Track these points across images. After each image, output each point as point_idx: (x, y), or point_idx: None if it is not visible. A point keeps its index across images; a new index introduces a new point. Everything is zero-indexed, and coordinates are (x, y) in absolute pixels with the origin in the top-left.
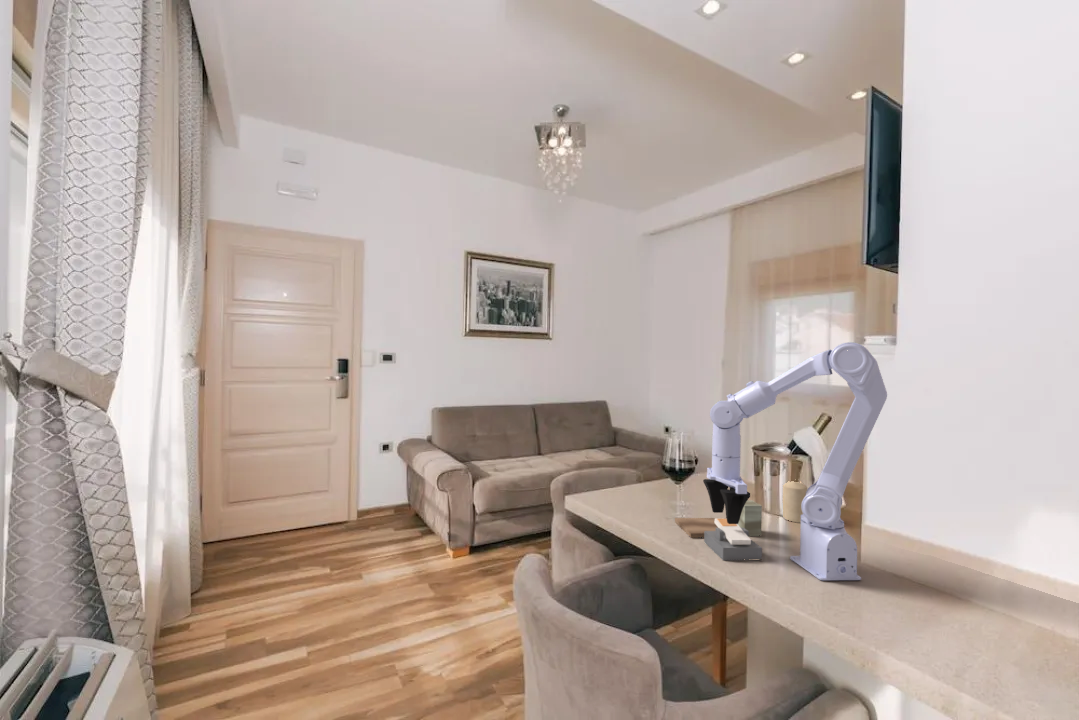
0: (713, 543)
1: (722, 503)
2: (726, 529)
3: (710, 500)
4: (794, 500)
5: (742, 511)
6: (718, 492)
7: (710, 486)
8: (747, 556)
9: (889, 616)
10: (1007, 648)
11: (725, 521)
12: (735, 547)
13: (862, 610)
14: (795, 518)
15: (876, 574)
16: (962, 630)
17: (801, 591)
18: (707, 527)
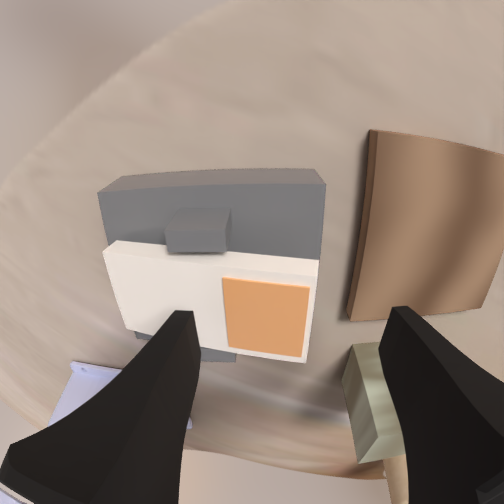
0: (205, 179)
1: (396, 390)
2: (189, 278)
3: (447, 345)
4: (398, 479)
5: (388, 409)
6: (431, 438)
7: (485, 446)
8: None
9: (9, 361)
10: (12, 399)
11: (273, 317)
12: None
13: (6, 343)
14: None
15: None
16: (22, 397)
17: (16, 298)
18: (427, 248)
